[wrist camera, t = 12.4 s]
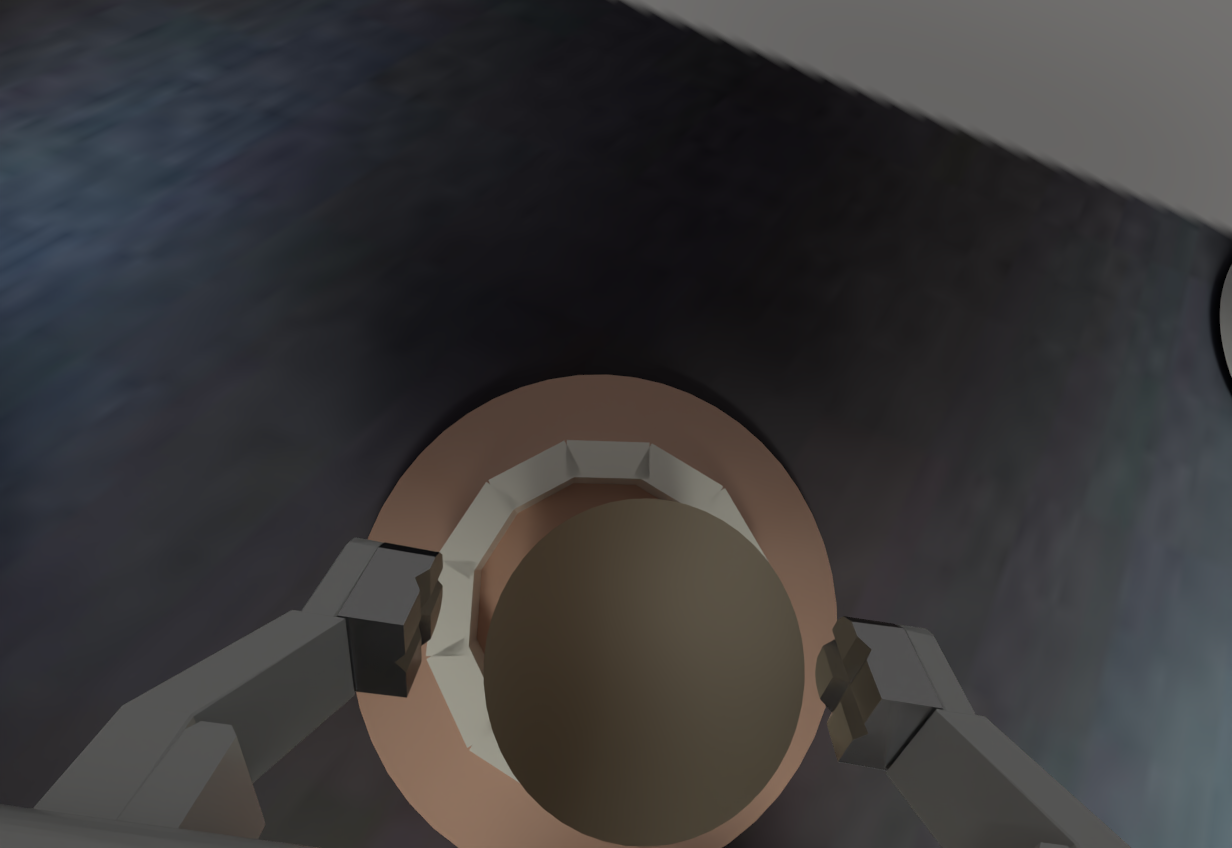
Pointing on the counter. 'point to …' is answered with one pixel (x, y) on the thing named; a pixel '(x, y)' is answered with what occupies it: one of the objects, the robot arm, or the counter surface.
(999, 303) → the counter surface
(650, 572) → the beige cylinder
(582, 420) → the collar dish
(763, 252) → the counter surface
